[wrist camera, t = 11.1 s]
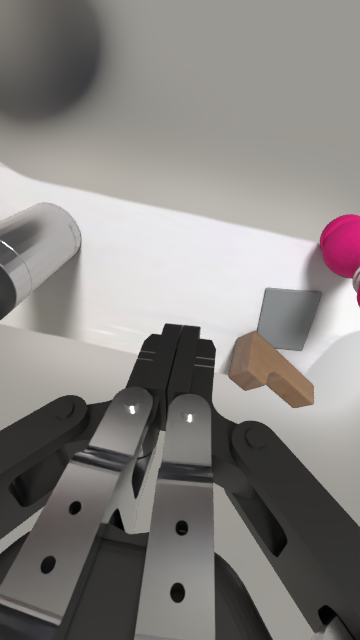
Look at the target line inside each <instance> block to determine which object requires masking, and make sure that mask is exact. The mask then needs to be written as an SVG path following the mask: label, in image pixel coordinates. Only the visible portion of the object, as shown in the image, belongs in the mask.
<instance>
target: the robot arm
mask: <svg viewBox="0 0 360 640" xmlns="http://www.w3.org/2000/svg"><path fill="white" fill-rule="evenodd" d="M80 244H81V236H80V231H79V228H78V226H77V224H76V222H75V221H74V219H73V218H72V217H71V216H70V215H69V214H68V213H67V212H66V211H65V210H63V209H62V208H61V207H58V206H56V205H54V204H50V203H40V204H36V205H34V206H32V207H30V208H28V209H26V210H23V211H21V212H19V213H17V214H14V215H12V216H10V217H8V218H6V219H4V220H2V221H0V320H1V319H3V318H4V317H5V316H6V315H7V314H8V313H9V312H11V311H12V310H13V309H14V308H15V307H16V306H17V305H19V304H20V303H21V302H22V301H23V300H24V299H25V298H26V297H27V296H29V295H30V294H31V293H32V292H33V291H34V290H35V289H36V288H38V287H39V286H40V285H41V284H42V283H43V282H44V281H45V280H47V279H48V278H49V277H50V276H51V275H52V274H53V273H55V272H56V271H57V270H58V269H59V268H60V267H61V266H62V265H64V264H65V263H66V262H67V261H68V260H69V259H70V258H72V257H73V256H74V255H75V254H76V253H77V251H78V250H79V247H80ZM215 353H216V348H215V346H214V344H213V342H212V340H206V339H200V327H198V326H188V325H177V324H167V323H166V324H165V325H164V328H163V331H162V334H161V335H158V334H151V335H150V336H149V337H148V338H147V339H146V340H145V341H144V343H143V345H142V348H141V351H140V353H139V355H138V359H137V361H136V363H135V365H134V368H133V371H132V373H131V375H130V378H129V380H128V383H127V386H126V388H125V389H122V390H121V391H119V392H118V393H117V394H116V395H115V396H114V398H113V399H112V400H110V401H107V402H102V403H96V404H89V405H86V402H85V401H84V400H83V399H82V398H81V397H78V396H74V395H67V396H63V397H60V398H58V399H56V400H54V401H52V402H50V403H48V404H47V405H45V406H43V407H41V408H40V409H38V410H36V411H34V412H33V413H31V414H30V415H28V416H26V417H24V418H22V419H20V420H19V421H17V422H15V423H13V424H12V425H10V426H8V427H6V428H4V429H3V430H1V431H0V539H1V538H3V537H4V536H6V535H7V534H8V533H9V532H11V531H12V530H13V529H15V528H16V527H17V526H19V525H20V524H21V523H23V522H24V521H25V520H26V519H28V518H29V517H31V516H32V515H33V514H34V513H35V512H37V511H38V510H40V509H41V508H42V507H44V508H43V510H42V512H41V514H40V516H39V517H38V519H37V521H36V523H35V525H34V526H33V528H32V530H31V531H30V532H28V533H26V534H25V535H23V536H22V537H21V538H19V539H18V540H17V541H15V542H14V543H13V544H11V545H10V546H9V547H8V548H7V549H6V550H4V551H3V552H2V553H1V554H0V640H273V639H272V637H271V635H270V633H269V632H268V630H267V628H266V626H265V624H264V622H263V620H262V618H261V616H260V614H259V612H258V610H257V608H256V606H255V604H254V602H253V600H252V599H251V597H250V595H249V593H248V591H247V589H246V587H245V585H244V584H243V582H242V581H241V579H240V578H239V576H238V575H237V573H236V572H235V571H234V570H233V568H232V567H231V566H230V565H229V564H228V563H227V562H226V561H225V560H224V559H223V558H222V557H221V556H219V555H218V554H217V553H215V552H214V507H213V506H214V503H213V482H214V483H216V484H217V485H219V486H221V487H223V488H224V490H225V492H226V494H227V496H228V497H229V499H230V501H231V502H232V504H233V505H234V507H235V509H236V510H237V512H238V513H239V515H240V516H241V518H242V520H243V521H244V523H245V524H246V526H247V528H248V529H249V531H250V532H251V534H252V535H253V537H254V538H255V540H256V542H257V543H258V545H259V546H260V548H261V549H262V551H263V553H264V554H265V556H266V557H267V559H268V561H269V562H270V564H271V565H272V567H273V568H274V570H275V572H276V573H277V575H278V576H279V578H280V580H281V581H282V583H283V584H284V586H285V587H286V589H287V591H288V592H289V593H290V595H291V597H292V598H293V600H294V602H295V603H296V605H297V606H298V608H299V609H300V611H301V613H302V614H303V616H304V617H305V619H306V620H307V622H308V624H309V625H310V627H311V628H312V630H313V631H314V635H313V636H312V639H311V640H360V527H359V526H358V525H357V523H356V522H355V521H354V520H353V519H352V518H351V517H350V516H349V515H348V514H347V512H346V511H345V510H344V509H343V508H342V507H341V506H340V505H339V504H338V502H337V501H336V500H335V499H334V498H333V497H332V496H331V495H330V494H329V493H328V491H327V490H326V489H325V488H324V487H323V486H322V485H321V484H320V483H319V482H318V480H317V479H316V478H315V477H314V476H313V475H312V474H311V473H310V471H308V469H307V468H306V467H305V466H304V465H303V464H302V463H301V462H300V460H299V459H298V458H297V457H296V456H295V455H294V454H293V453H292V452H291V450H290V449H289V448H288V447H287V446H286V445H285V444H284V443H283V442H282V441H281V440H280V438H279V437H278V436H277V435H276V434H275V433H274V432H273V431H272V430H271V429H270V428H269V427H268V426H266V425H265V424H263V423H260V422H257V421H244V422H242V423H240V424H236V423H234V422H232V421H229V420H228V419H226V418H224V417H223V416H221V415H220V414H219V413H218V412H217V411H216V409H215V408H214V406H213V403H212V389H213V377H214V365H215ZM160 430H161V431H166V432H165V439H164V447H163V454H162V462H161V467H160V468H159V471H158V476H157V481H156V489H155V495H154V503H153V510H152V517H151V524H150V531H149V532H148V533H139V534H133V533H134V528H135V525H136V520H137V514H138V506H139V502H140V499H141V496H142V493H143V489H144V486H145V483H146V480H147V477H148V474H149V470H150V467H151V464H152V461H153V458H154V455H155V451H156V444H157V440H158V436H159V432H160ZM78 512H79V513H78Z"/></svg>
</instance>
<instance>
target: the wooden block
mask: <svg viewBox="0 0 360 640" xmlns="http://www.w3.org/2000/svg"><path fill="white" fill-rule="evenodd" d="M229 378H230V379H231V380H232V381H233V382H235V383H236V384H237V385H238V386H239V387H241V388H242V389H243V390H245V391H247V390H250V389H254V388H258V387H261V386H264V385H265V384H266V385H267V386H268V387H269V388H270V389H271V390H273V391H274V392H275V393H276V394H277V395H279V396H280V397H281V398H282V399H283V400H284V401H285V402H287V403H288V404H289V405H290V406H291V407H292V408H298V407H303V406H308V405H313V404H314V386H313V384H312V383H311V382H310V381H309V380H308V379H307V378H305V377H304V376H303V375H302V374H301V373H300V372H299V371H298V370H297V369H296V368H295V367H294V366H293V365H292V364H291V363H289V362H288V361H287V360H286V359H285V358H284V357H283V356H282V355H281V354H280V353H279V352H278V351H277V350H276V349H275V348H273V347H272V346H271V345H270V344H269V343H268V342H267V341H266V340H265V339H264V338H263V337H262V336H261V335H260V334H259V333H257V332H256V331H253V332H251V333H248V334H246V335H244V336H242V337H240V338H238V339H237V341H236V345H235V349H234V354H233V358H232V362H231V367H230V371H229Z"/></svg>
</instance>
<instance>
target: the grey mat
mask: <svg viewBox="0 0 360 640" xmlns="http://www.w3.org/2000/svg"><path fill="white" fill-rule="evenodd" d="M321 295H322V293H321V292H313V291H301V290H289V289H276V288H266V291H265V296H264V300H263V305H262V310H261V315H260V319H259V324H258V329H257V333H259V334H260V335H261V336H262V337H263V338H264V339H265V340H266V341H267V342H268V343H269V344H270V345H271V346H272V347H273V348H280V349H289V350H299V351H302V350H303V347H304V344H305V341H306V338H307V335H308V333H309V330H310V327H311V324H312V321H313V318H314V315H315V312H316V309H317V307H318V304H319V301H320V298H321Z"/></svg>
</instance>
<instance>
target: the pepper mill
mask: <svg viewBox="0 0 360 640" xmlns="http://www.w3.org/2000/svg"><path fill="white" fill-rule="evenodd" d="M320 246H321V249H322V251H323V258H324V261H325V263H326V265H327V266H328V267H329V268H330V270H332V271H333V272H334V273H336V274H338V275H340V276H342V277H346V278H352V279H353V288H354V290H355V291H356V292H357V302H358V305H359V307H360V216H358V215H353V214H351V215H343V216H340V217H338V218H336V219H334V220H333V221H331V222H330V223H329V224H328V225H327V226H326V227H325V229H324V230H323V232H322V234H321V237H320Z"/></svg>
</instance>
